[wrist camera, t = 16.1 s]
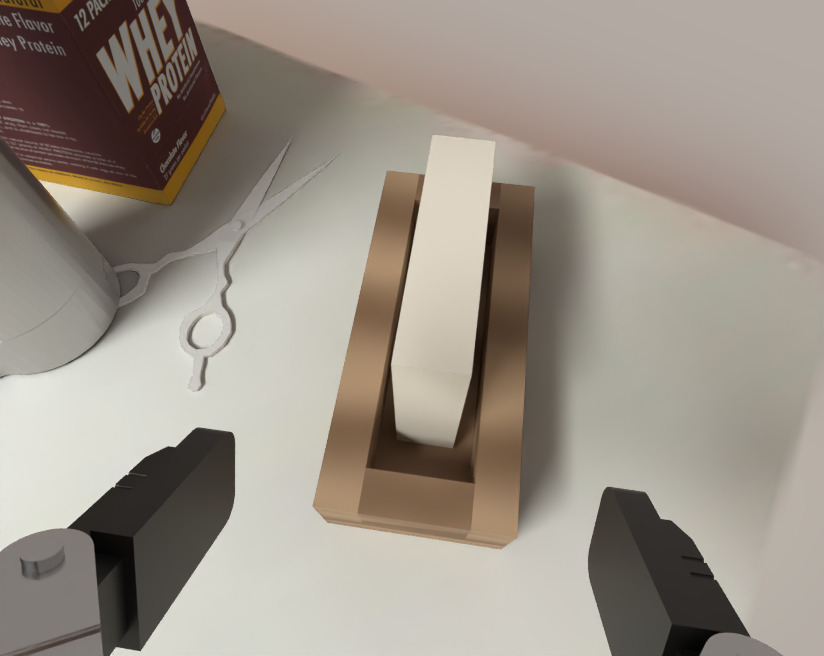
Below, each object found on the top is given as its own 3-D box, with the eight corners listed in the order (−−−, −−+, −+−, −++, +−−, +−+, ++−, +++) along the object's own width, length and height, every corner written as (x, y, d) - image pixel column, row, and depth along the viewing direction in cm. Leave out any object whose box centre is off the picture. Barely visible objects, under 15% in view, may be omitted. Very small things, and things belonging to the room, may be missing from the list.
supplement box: (173, 208, 38) (37, -24, 24) (-21, 170, 39) (-253, -68, 26) (230, 108, 43) (144, -134, 29) (54, 78, 44) (-107, -165, 30)
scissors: (62, 312, 34) (258, 115, 42) (69, 318, 34) (261, 123, 42) (194, 392, 31) (376, 166, 39) (199, 396, 32) (377, 174, 40)
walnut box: (500, 549, 27) (517, 537, 23) (327, 522, 28) (312, 506, 24) (520, 236, 37) (534, 186, 32) (389, 221, 37) (387, 170, 33)
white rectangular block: (452, 448, 29) (471, 375, 20) (397, 440, 29) (390, 363, 20) (473, 263, 34) (496, 141, 25) (426, 257, 34) (432, 134, 26)
